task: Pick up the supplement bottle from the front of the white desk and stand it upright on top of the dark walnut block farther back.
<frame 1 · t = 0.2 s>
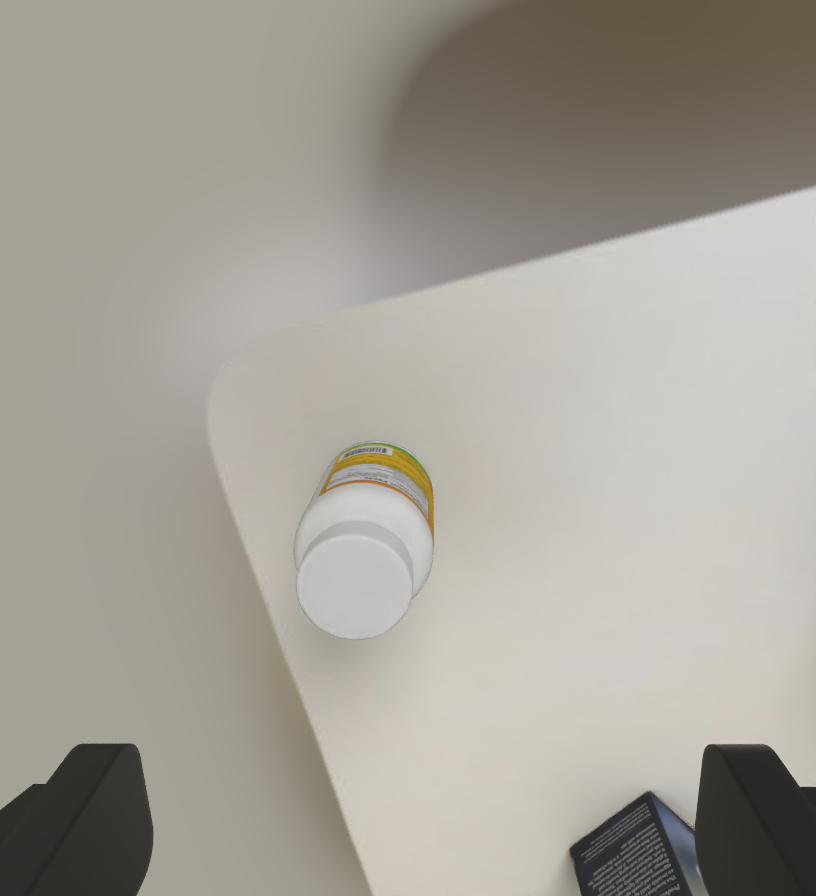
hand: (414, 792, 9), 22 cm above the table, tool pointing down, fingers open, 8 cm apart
small box: (668, 867, 37), on the table
supplement bottle: (378, 490, 31), on the table
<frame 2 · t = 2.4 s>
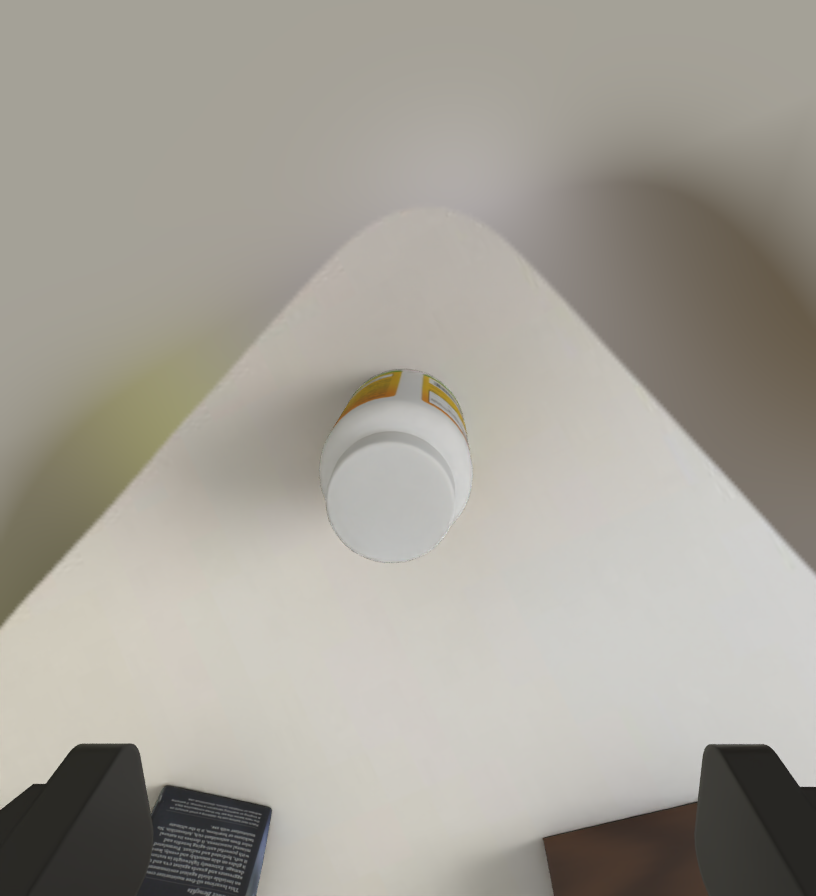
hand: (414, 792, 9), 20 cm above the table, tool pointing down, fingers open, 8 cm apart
walnut block: (655, 885, 35), on the table
small box: (209, 863, 36), on the table
supplement bottle: (404, 426, 29), on the table
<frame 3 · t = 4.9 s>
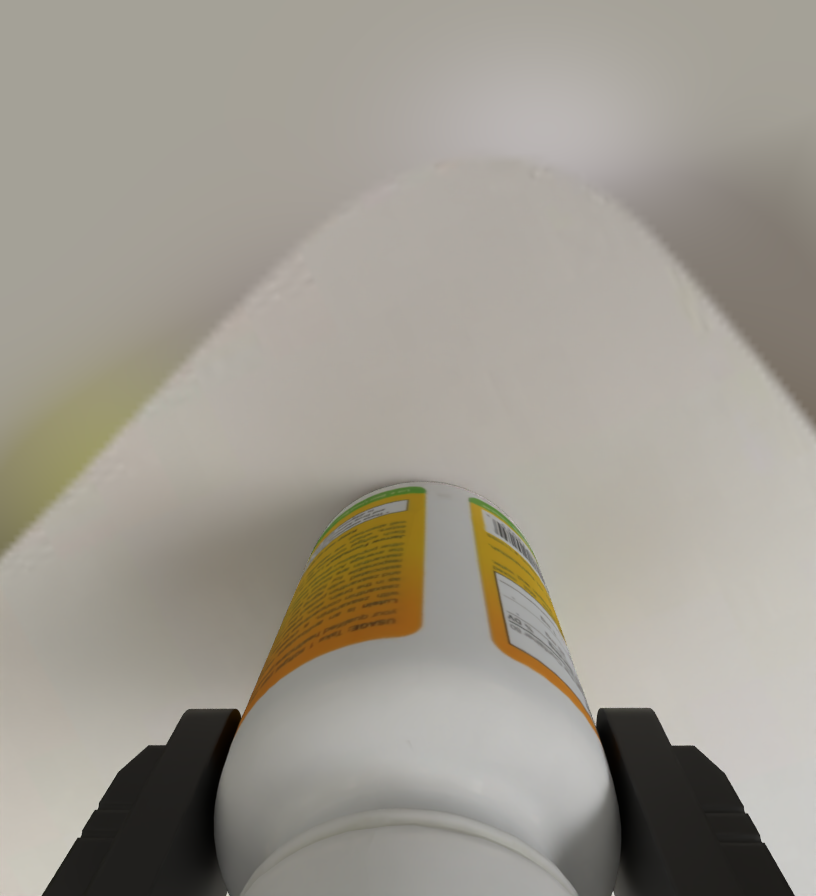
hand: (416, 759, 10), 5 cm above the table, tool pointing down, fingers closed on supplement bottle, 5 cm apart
supplement bottle: (423, 580, 15), on the table, touching gripper
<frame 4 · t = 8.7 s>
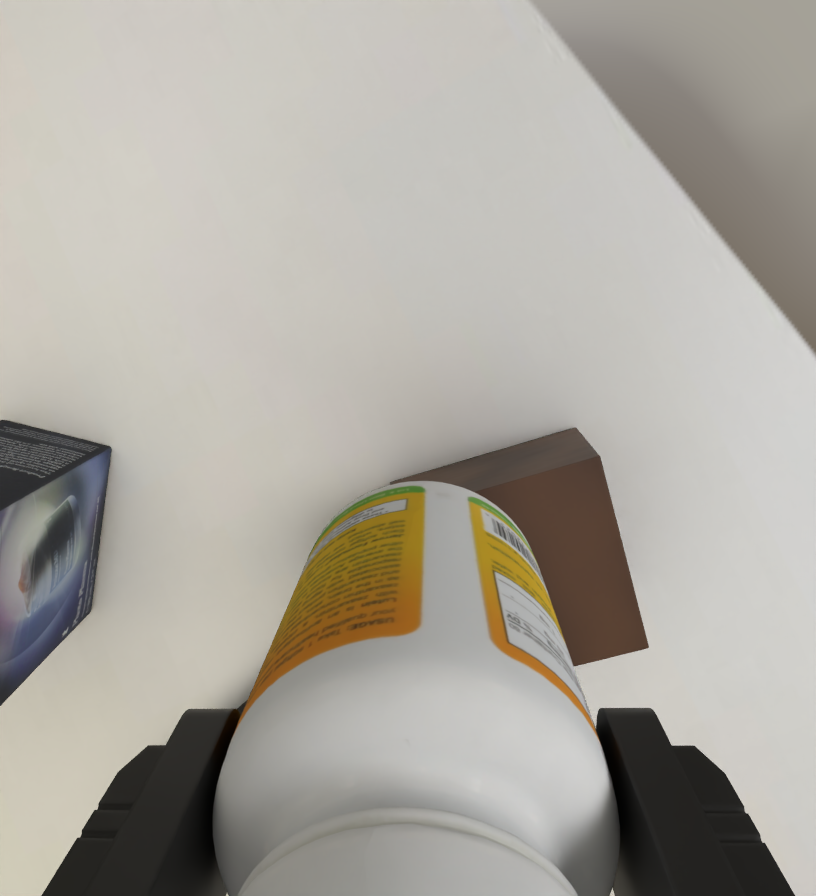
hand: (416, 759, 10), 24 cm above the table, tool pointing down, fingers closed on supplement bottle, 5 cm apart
walnut block: (507, 539, 34), on the table
small box: (53, 519, 35), on the table
supplement bottle: (422, 579, 15), point 18 cm above the table, touching gripper
when the fingers open (10 cm above the table, at t = 12.7 s): supplement bottle stays where it is, resting on walnut block.
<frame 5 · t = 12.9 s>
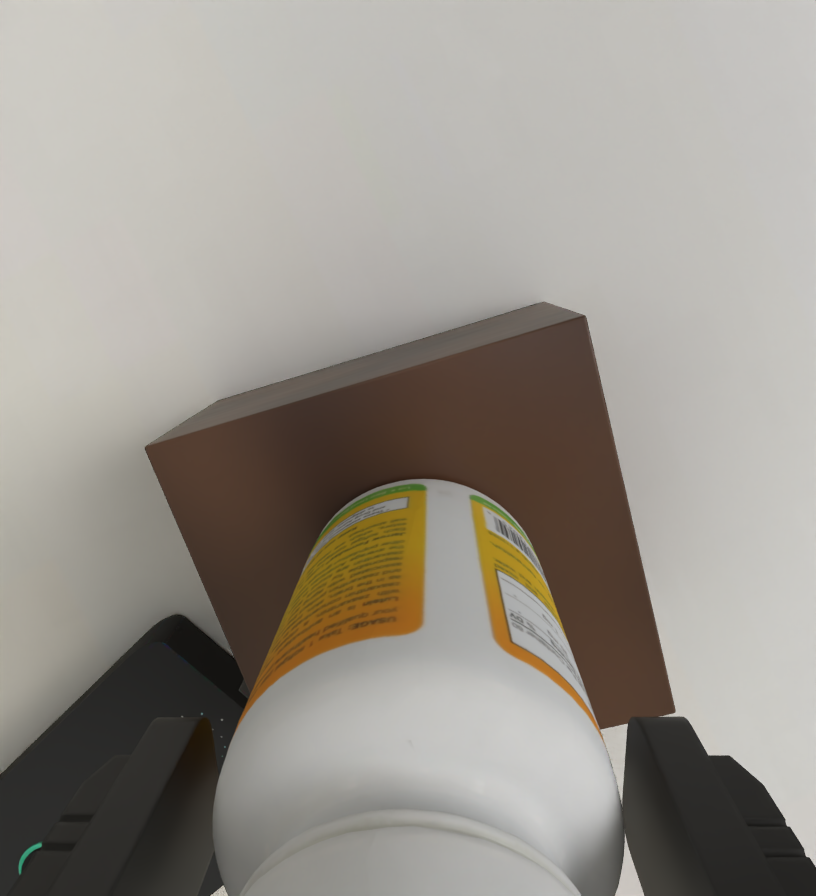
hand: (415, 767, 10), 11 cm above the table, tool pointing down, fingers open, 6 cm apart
walnut block: (424, 508, 20), on the table, touching supplement bottle
smart home device: (89, 835, 24), on the table
supplement bottle: (423, 578, 15), point 5 cm above the table, touching walnut block
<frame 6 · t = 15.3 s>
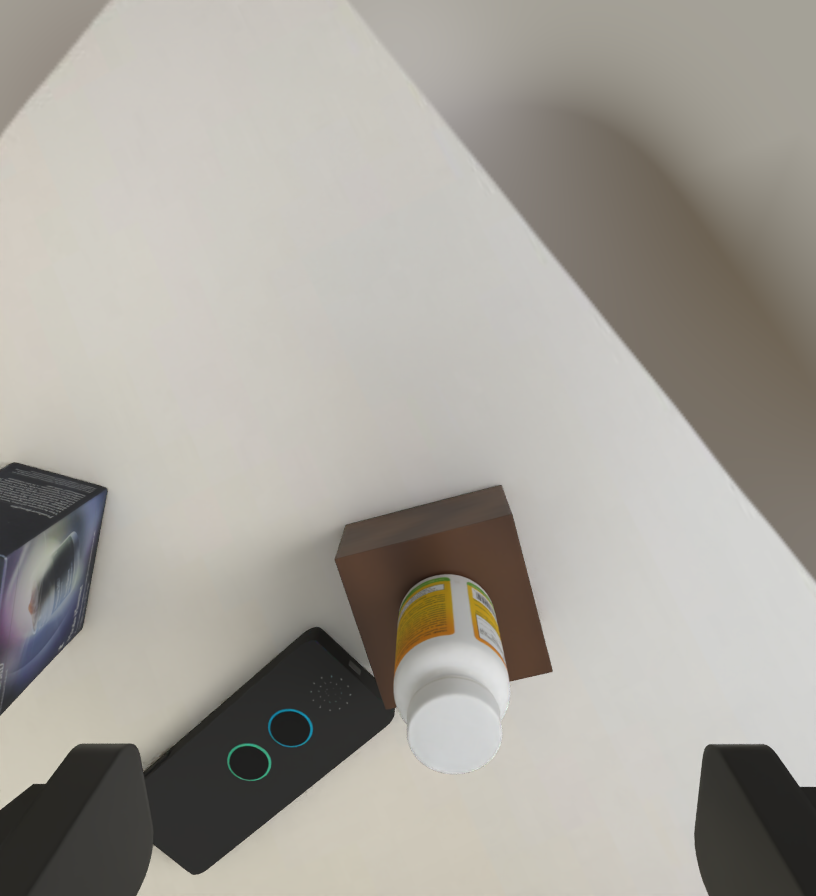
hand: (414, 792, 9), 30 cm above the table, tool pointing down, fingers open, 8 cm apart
walnut block: (443, 576, 41), on the table, touching supplement bottle
smart home device: (257, 745, 44), on the table
small box: (53, 547, 41), on the table
supplement bottle: (446, 613, 36), point 5 cm above the table, touching walnut block
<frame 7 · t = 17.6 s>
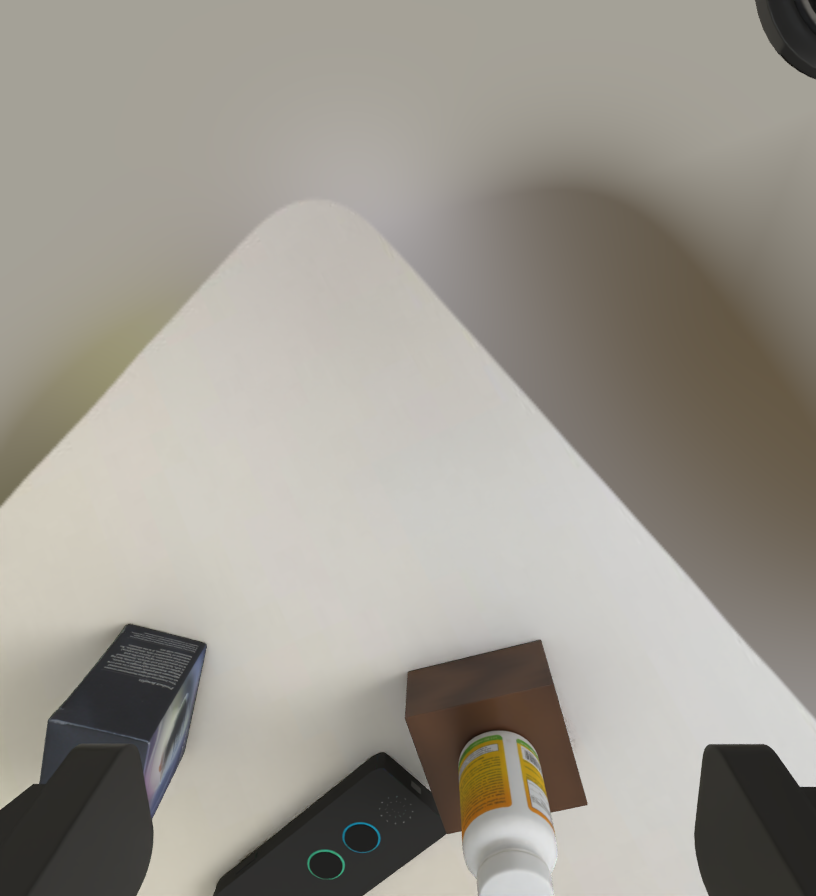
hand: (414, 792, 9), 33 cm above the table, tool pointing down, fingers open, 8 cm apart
walnut block: (491, 712, 48), on the table, touching supplement bottle
smart home device: (330, 846, 52), on the table
small box: (159, 689, 48), on the table
supplement bottle: (497, 758, 43), point 5 cm above the table, touching walnut block
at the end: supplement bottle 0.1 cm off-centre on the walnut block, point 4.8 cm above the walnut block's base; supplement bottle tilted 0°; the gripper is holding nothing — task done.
